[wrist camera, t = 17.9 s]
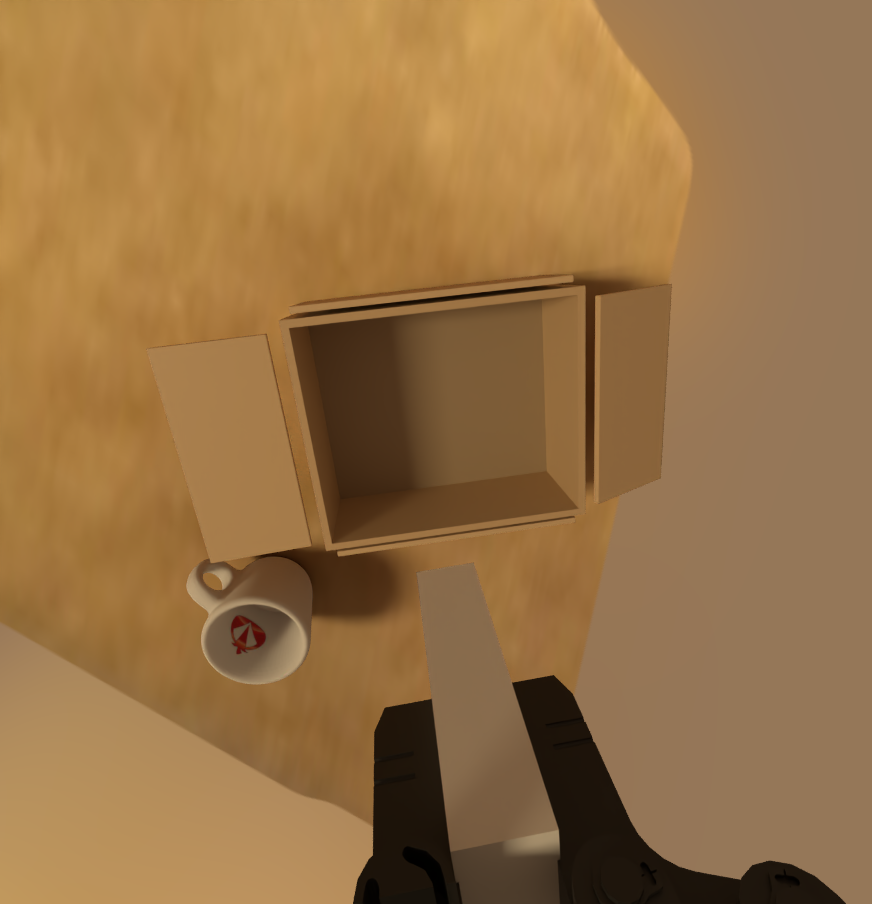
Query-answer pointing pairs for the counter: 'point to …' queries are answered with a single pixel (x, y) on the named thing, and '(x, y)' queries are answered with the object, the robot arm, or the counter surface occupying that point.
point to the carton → (442, 410)
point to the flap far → (629, 388)
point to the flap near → (233, 445)
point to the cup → (255, 618)
